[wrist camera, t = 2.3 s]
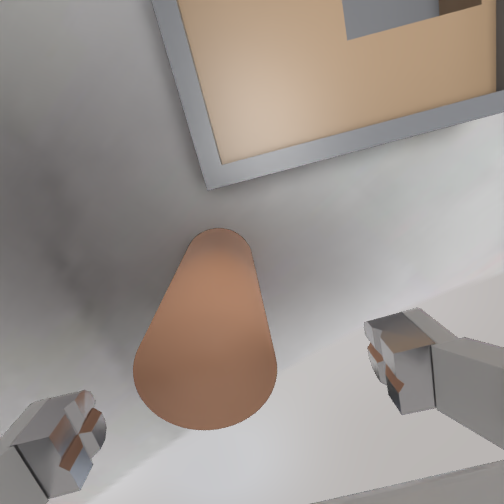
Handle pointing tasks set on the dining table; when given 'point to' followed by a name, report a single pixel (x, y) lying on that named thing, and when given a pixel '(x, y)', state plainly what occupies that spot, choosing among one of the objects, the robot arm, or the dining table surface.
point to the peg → (208, 339)
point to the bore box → (326, 75)
